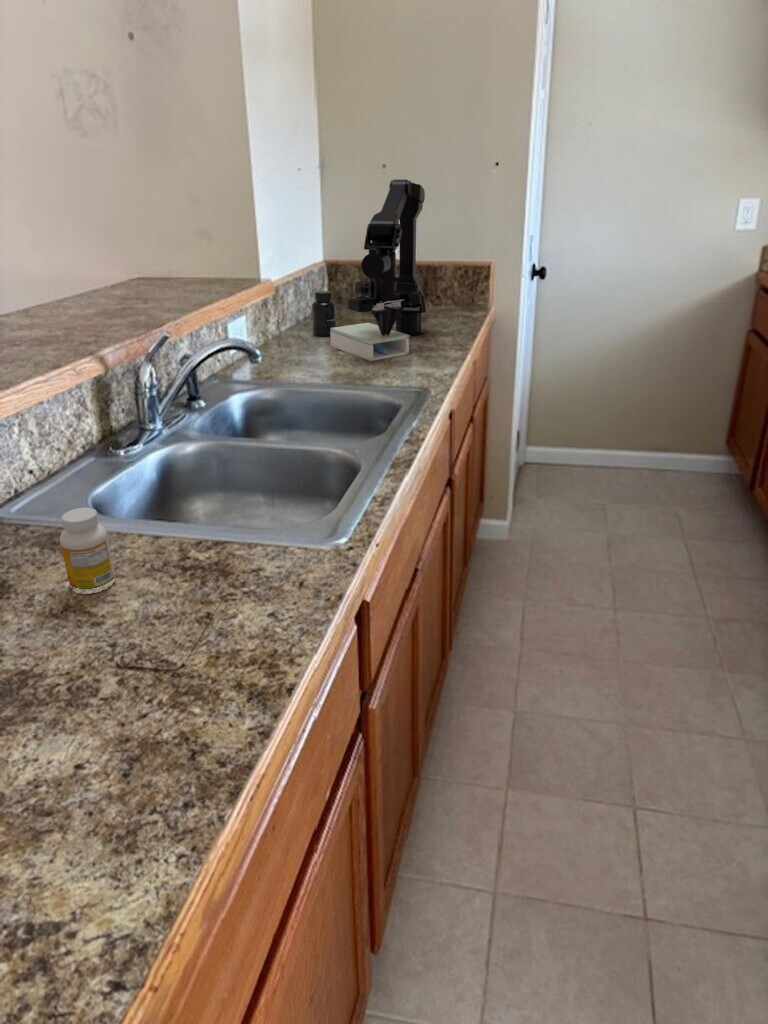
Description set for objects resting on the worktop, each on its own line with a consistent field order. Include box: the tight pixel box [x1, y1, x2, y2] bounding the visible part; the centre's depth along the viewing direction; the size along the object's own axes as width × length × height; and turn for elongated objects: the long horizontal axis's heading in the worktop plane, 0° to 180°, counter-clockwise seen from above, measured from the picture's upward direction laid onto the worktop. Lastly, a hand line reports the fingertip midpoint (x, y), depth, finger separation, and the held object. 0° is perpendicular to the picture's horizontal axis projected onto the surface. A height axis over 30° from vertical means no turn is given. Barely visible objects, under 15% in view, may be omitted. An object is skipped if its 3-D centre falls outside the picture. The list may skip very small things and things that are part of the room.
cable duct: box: [329, 331, 410, 362], centre depth 203 cm, size 12×20×4 cm, turn 33°
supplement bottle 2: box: [311, 290, 337, 337], centre depth 219 cm, size 7×7×12 cm
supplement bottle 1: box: [59, 507, 116, 589], centre depth 93 cm, size 5×5×10 cm
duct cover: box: [331, 322, 411, 344], centre depth 202 cm, size 12×20×1 cm, turn 33°
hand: (385, 335), depth 197 cm, fingers closed, pressing on duct cover
